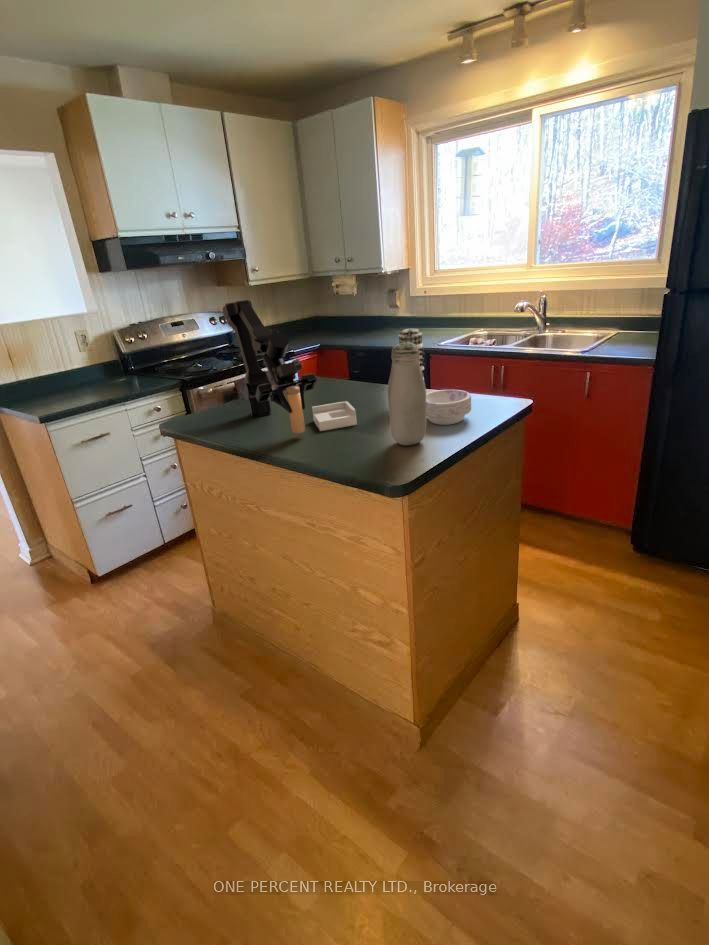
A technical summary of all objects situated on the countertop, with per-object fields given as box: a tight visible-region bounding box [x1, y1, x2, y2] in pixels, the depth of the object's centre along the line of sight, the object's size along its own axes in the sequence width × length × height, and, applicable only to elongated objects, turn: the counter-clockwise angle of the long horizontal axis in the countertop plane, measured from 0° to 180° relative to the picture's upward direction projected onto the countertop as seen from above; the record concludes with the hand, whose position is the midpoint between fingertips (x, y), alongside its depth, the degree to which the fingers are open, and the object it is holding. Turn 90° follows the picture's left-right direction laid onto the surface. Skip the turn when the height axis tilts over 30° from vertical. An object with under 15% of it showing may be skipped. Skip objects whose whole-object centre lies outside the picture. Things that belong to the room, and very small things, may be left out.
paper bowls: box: [426, 389, 472, 426], centre depth 158 cm, size 15×15×8 cm
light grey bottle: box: [387, 342, 427, 446], centre depth 139 cm, size 10×10×28 cm
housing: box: [311, 400, 358, 432], centre depth 167 cm, size 12×11×5 cm
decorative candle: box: [398, 327, 426, 384], centre depth 175 cm, size 9×9×25 cm
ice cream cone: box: [285, 386, 306, 434], centre depth 155 cm, size 4×4×14 cm
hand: (297, 410), depth 153 cm, fingers closed on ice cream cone, 4 cm apart
